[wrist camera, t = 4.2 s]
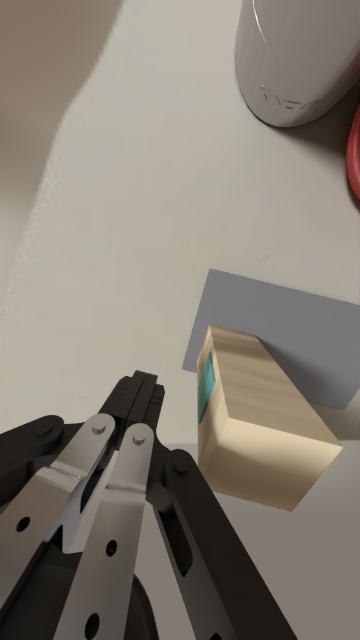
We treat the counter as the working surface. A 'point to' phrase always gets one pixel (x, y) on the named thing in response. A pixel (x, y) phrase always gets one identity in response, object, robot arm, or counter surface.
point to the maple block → (256, 424)
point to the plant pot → (354, 154)
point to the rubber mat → (287, 333)
